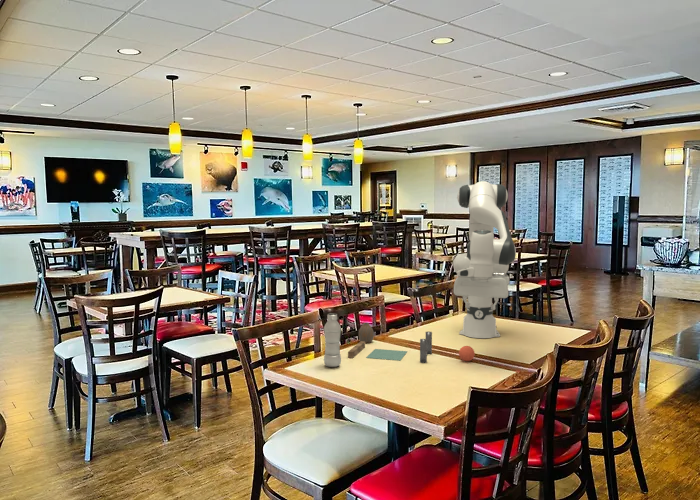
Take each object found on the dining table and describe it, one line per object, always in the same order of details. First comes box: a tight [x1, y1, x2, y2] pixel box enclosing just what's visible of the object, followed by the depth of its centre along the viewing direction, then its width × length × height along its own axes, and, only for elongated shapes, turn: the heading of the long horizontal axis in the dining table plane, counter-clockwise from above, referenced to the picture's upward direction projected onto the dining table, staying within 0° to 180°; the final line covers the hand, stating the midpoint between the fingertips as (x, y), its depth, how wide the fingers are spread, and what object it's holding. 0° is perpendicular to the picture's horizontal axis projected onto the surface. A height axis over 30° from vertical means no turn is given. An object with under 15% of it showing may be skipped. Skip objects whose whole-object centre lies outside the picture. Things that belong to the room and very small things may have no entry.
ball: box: [458, 345, 476, 362], centre depth 204 cm, size 6×6×6 cm
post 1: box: [419, 338, 428, 364], centre depth 202 cm, size 3×3×9 cm
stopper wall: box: [347, 340, 366, 359], centre depth 217 cm, size 18×2×2 cm, turn 163°
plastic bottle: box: [323, 313, 342, 368], centre depth 197 cm, size 6×7×20 cm
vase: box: [358, 322, 375, 344], centre depth 235 cm, size 7×7×9 cm
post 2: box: [425, 331, 433, 355], centre depth 215 cm, size 3×3×9 cm
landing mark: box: [365, 348, 408, 362], centre depth 214 cm, size 14×14×1 cm
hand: (480, 308), depth 198 cm, fingers open, 8 cm apart
